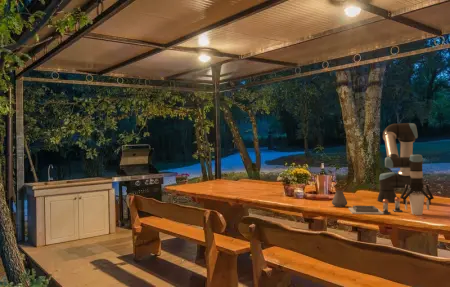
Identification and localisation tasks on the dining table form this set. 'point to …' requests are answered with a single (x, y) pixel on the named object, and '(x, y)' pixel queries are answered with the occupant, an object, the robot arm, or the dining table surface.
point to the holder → (365, 210)
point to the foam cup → (417, 203)
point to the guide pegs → (397, 209)
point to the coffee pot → (339, 198)
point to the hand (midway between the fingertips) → (417, 209)
